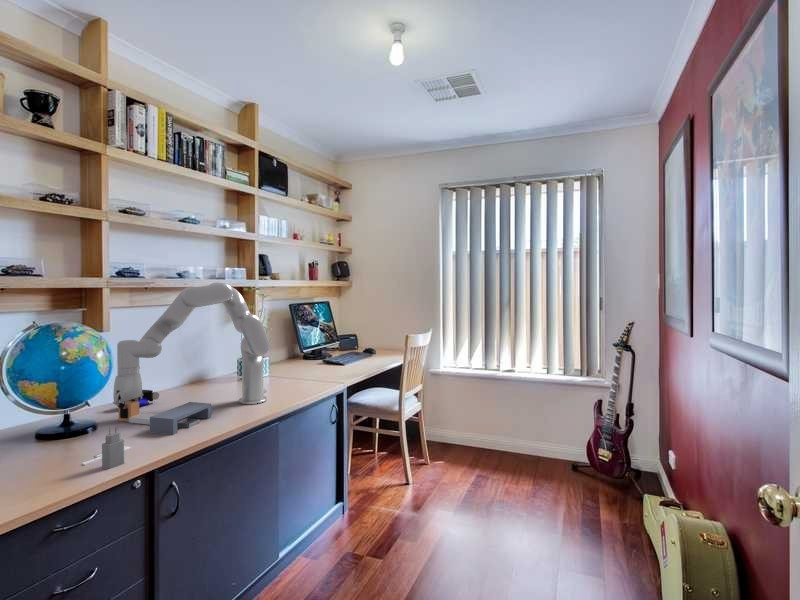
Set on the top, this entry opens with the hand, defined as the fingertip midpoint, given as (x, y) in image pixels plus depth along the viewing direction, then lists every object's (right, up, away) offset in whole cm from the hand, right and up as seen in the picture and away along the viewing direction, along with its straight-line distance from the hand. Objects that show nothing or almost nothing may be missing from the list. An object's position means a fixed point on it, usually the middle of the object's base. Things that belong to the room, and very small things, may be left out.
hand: (128, 416), depth 179 cm
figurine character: (-7, -1, +20) cm, 21 cm away
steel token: (+26, -2, -6) cm, 27 cm away
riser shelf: (+24, -2, -5) cm, 25 cm away
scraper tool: (+8, -2, -2) cm, 9 cm away
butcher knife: (+14, -4, -37) cm, 40 cm away
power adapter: (+23, -3, -45) cm, 50 cm away
